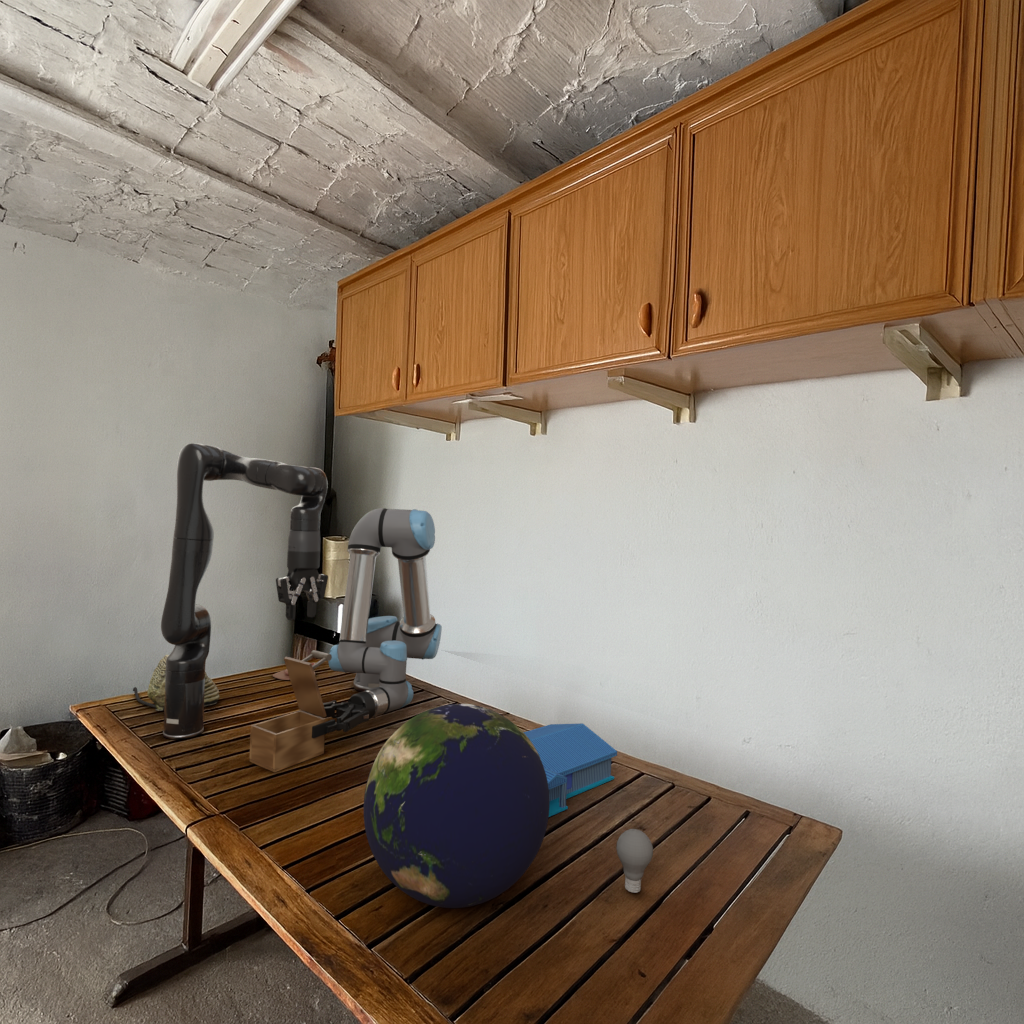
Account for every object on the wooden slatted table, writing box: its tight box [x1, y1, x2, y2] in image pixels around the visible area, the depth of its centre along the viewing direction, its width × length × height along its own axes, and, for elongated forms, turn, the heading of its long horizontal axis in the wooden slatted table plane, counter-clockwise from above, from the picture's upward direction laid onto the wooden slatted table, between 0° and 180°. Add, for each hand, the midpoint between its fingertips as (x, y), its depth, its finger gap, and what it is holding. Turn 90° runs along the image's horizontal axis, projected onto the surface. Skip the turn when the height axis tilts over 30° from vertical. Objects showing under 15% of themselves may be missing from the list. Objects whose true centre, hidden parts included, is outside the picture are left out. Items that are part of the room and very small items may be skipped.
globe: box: [363, 703, 550, 909], centre depth 103 cm, size 30×30×30 cm
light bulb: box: [615, 828, 654, 894], centre depth 106 cm, size 6×6×10 cm
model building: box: [523, 722, 618, 818], centre depth 142 cm, size 39×24×10 cm, turn 132°
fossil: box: [147, 654, 221, 712], centre depth 185 cm, size 9×18×15 cm, turn 132°
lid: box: [283, 649, 332, 719], centre depth 159 cm, size 15×10×8 cm
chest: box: [248, 710, 326, 773], centre depth 153 cm, size 14×10×9 cm
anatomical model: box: [272, 662, 317, 681], centre depth 220 cm, size 13×4×12 cm
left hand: (301, 618), depth 154 cm, fingers open, 5 cm apart
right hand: (299, 727), depth 155 cm, fingers closed on chest, 9 cm apart
